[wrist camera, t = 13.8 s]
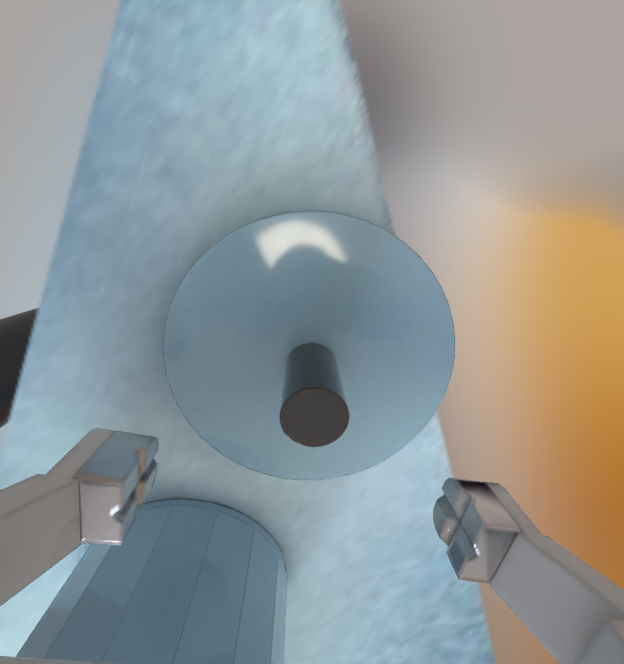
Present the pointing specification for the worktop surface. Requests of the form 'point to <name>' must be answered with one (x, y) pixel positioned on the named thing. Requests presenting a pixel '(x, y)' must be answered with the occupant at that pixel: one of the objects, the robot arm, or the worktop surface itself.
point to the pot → (172, 593)
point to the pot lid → (309, 345)
